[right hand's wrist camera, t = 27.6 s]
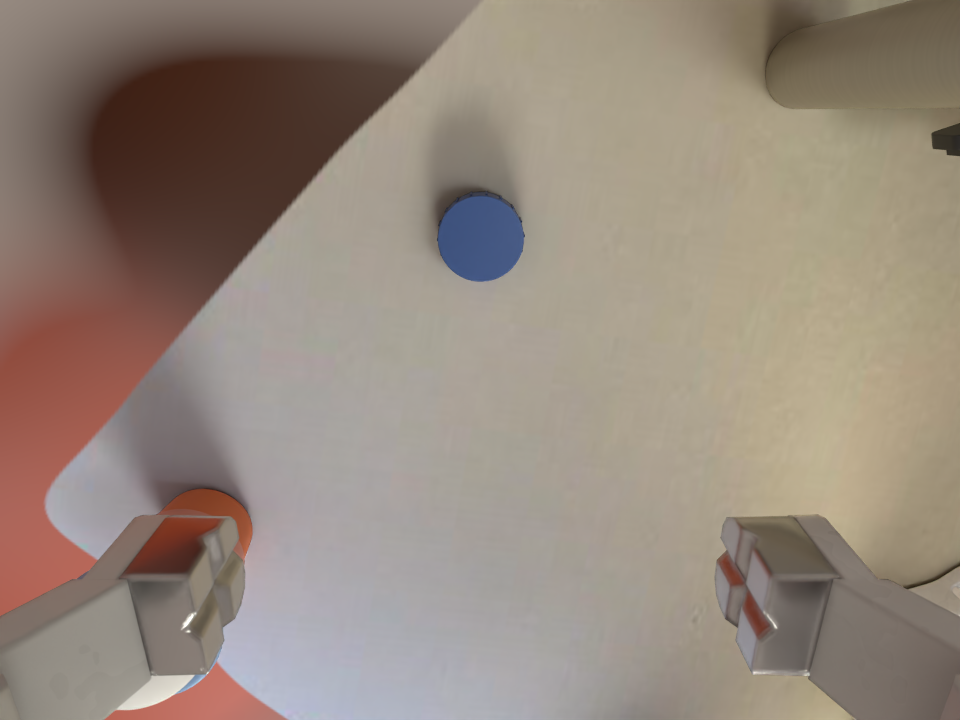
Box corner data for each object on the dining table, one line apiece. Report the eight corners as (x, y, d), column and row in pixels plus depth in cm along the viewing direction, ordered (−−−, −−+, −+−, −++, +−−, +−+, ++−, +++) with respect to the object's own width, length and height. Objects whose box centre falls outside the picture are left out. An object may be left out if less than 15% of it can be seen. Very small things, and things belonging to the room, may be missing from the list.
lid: (424, 252, 39) (422, 258, 37) (462, 174, 37) (461, 177, 35) (497, 289, 39) (498, 297, 38) (537, 215, 38) (540, 220, 36)
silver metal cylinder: (853, 74, 35) (1207, 40, 18) (788, 124, 36) (1065, 137, 19) (817, 10, 34) (1158, -92, 17) (750, 63, 35) (1010, 18, 18)
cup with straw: (164, 449, 43) (-36, 664, 26) (292, 498, 45) (178, 732, 28) (130, 549, 46) (-69, 799, 29) (251, 592, 48) (126, 854, 31)
